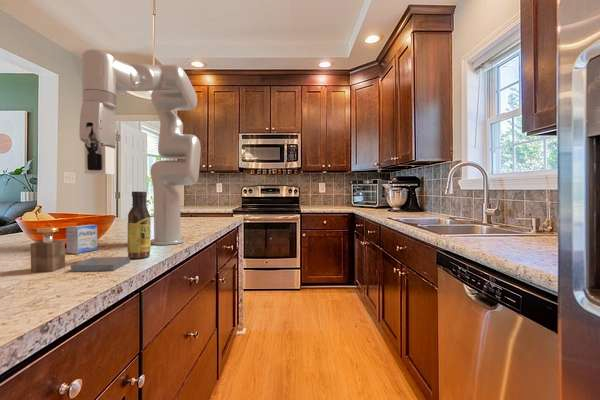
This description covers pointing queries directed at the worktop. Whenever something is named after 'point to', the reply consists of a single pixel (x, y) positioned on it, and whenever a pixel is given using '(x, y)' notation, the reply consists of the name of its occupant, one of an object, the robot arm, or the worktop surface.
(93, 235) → the medicine box
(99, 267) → the plate
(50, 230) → the press pin
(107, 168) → the block
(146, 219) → the sauce bottle
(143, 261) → the worktop surface
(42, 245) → the brown block
